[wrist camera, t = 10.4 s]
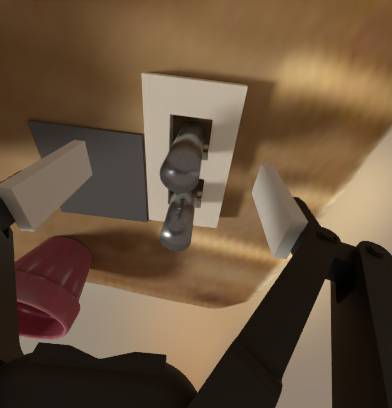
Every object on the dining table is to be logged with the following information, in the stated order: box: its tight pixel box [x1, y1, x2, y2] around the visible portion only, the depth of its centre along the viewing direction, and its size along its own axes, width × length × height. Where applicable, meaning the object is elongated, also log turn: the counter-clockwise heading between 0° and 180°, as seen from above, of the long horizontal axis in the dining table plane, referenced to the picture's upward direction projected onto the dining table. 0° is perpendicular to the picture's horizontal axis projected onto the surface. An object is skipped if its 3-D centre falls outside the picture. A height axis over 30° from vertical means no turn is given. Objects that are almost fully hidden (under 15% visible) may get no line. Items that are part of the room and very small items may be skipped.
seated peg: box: [160, 184, 198, 251], centre depth 23 cm, size 3×3×11 cm
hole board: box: [141, 72, 248, 228], centre depth 25 cm, size 10×18×2 cm, turn 174°
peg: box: [160, 120, 205, 193], centre depth 19 cm, size 3×3×11 cm
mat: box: [27, 120, 148, 222], centre depth 28 cm, size 14×14×1 cm
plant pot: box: [15, 236, 92, 339], centre depth 34 cm, size 14×14×13 cm
